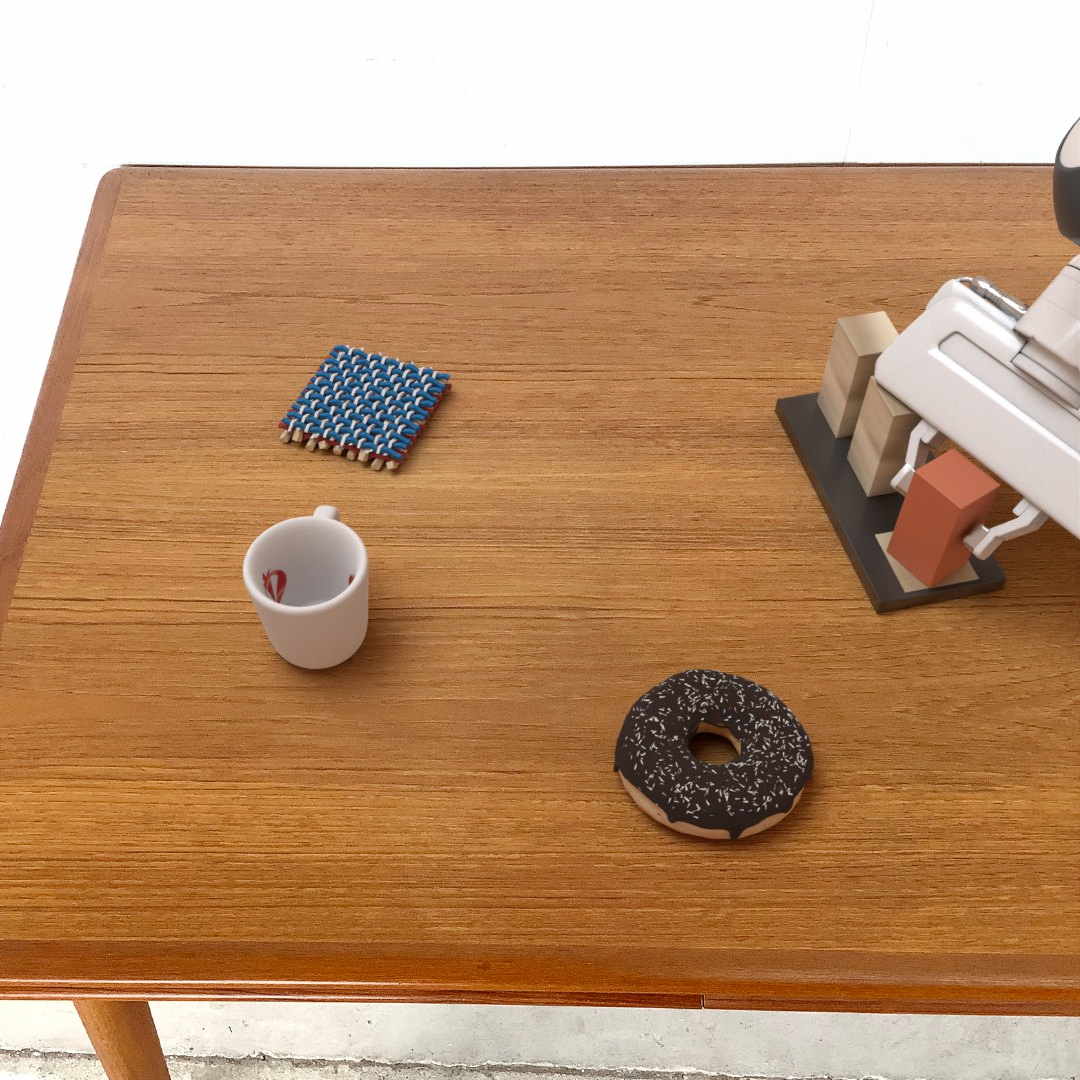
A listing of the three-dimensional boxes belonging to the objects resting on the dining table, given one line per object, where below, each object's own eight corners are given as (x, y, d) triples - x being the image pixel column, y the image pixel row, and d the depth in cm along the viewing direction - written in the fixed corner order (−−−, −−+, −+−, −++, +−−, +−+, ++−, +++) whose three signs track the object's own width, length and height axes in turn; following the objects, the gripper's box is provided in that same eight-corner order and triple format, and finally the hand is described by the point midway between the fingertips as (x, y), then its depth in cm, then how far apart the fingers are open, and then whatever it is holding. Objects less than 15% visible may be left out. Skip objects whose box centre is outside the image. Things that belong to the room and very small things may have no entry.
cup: (284, 554, 93) (267, 477, 87) (394, 564, 92) (385, 486, 86) (249, 679, 87) (228, 606, 80) (367, 690, 86) (355, 617, 79)
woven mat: (335, 354, 105) (332, 335, 104) (456, 388, 102) (455, 368, 101) (274, 441, 100) (270, 422, 98) (399, 479, 97) (397, 460, 95)
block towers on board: (886, 390, 100) (915, 295, 93) (1002, 589, 89) (1046, 498, 81) (774, 410, 100) (794, 315, 92) (876, 613, 88) (909, 524, 80)
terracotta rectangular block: (922, 528, 90) (953, 447, 84) (966, 565, 88) (1001, 484, 82) (885, 551, 89) (914, 470, 83) (928, 588, 87) (961, 509, 81)
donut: (638, 675, 86) (643, 640, 82) (820, 719, 83) (832, 684, 80) (597, 819, 79) (600, 787, 76) (792, 871, 77) (804, 840, 74)
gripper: (948, 246, 83) (806, 420, 88) (1221, 431, 73) (1043, 617, 78) (977, 276, 88) (841, 439, 93) (1237, 453, 78) (1069, 627, 83)
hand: (935, 522), depth 85 cm, fingers open, 5 cm apart
